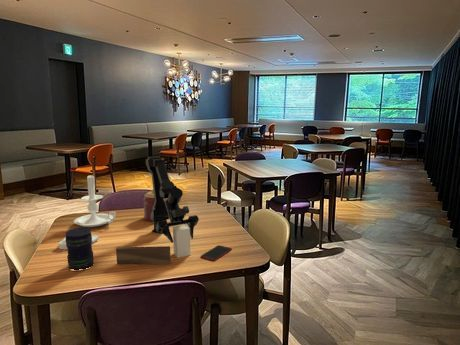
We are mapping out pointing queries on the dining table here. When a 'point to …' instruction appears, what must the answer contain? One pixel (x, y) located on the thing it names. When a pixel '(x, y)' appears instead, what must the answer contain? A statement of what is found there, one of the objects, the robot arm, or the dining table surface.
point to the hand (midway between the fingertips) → (182, 240)
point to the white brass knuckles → (63, 243)
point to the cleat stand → (143, 255)
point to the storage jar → (79, 248)
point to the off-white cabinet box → (181, 241)
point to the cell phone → (216, 253)
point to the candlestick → (93, 208)
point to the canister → (148, 205)
